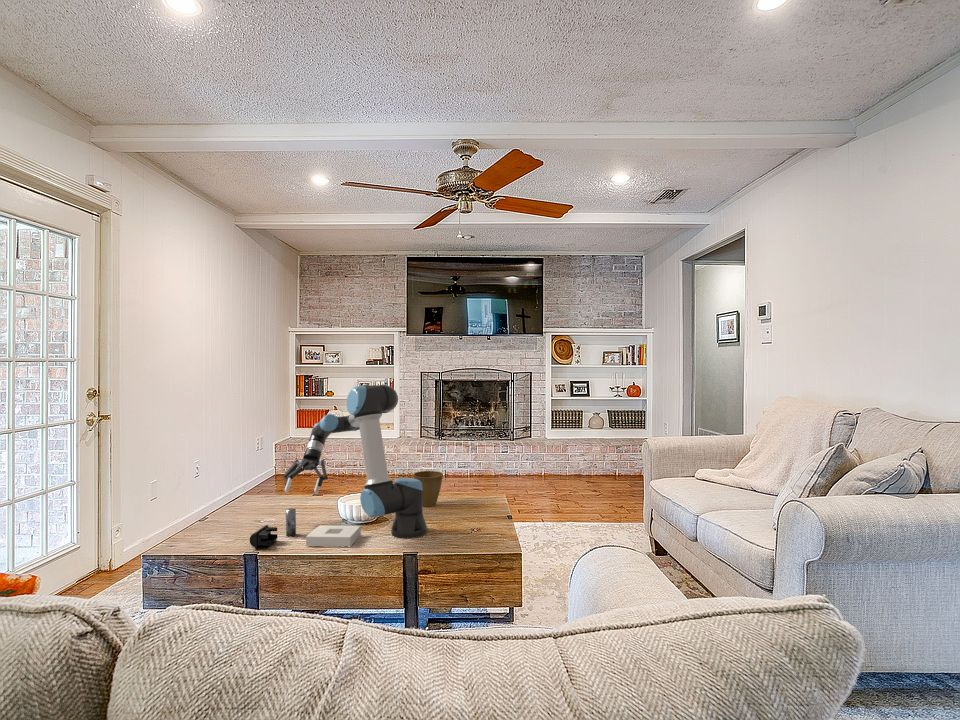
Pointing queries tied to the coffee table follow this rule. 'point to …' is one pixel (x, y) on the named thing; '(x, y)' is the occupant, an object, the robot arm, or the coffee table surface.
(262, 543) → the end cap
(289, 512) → the pin
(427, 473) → the plant pot
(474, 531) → the coffee table surface
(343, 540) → the socket block
